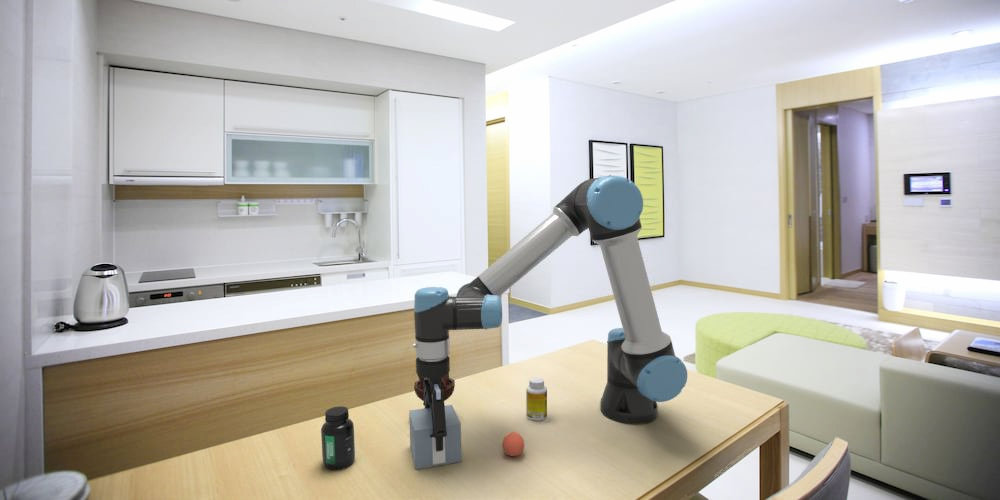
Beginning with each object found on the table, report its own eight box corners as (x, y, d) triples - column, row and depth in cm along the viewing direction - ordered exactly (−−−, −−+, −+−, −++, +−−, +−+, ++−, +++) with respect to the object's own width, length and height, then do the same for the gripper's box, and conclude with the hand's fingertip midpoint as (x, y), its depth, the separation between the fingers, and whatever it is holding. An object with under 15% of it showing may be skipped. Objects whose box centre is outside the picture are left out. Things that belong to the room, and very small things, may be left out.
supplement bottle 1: (332, 475, 99) (329, 421, 98) (317, 463, 104) (314, 411, 102) (361, 461, 104) (358, 410, 103) (345, 450, 109) (343, 401, 107)
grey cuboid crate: (452, 439, 113) (451, 404, 112) (461, 461, 104) (460, 423, 103) (410, 446, 110) (409, 410, 109) (415, 469, 101) (414, 430, 100)
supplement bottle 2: (548, 421, 122) (548, 383, 121) (527, 421, 122) (527, 384, 121) (545, 411, 128) (545, 375, 127) (525, 412, 128) (525, 376, 127)
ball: (520, 447, 109) (520, 427, 109) (527, 458, 105) (527, 437, 104) (499, 450, 108) (499, 430, 107) (506, 462, 103) (506, 440, 103)
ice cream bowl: (449, 428, 119) (448, 371, 117) (408, 425, 121) (406, 369, 119) (461, 410, 129) (460, 358, 128) (422, 407, 131) (421, 355, 130)
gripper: (410, 343, 114) (412, 429, 117) (422, 376, 93) (425, 481, 95) (440, 340, 117) (442, 425, 119) (459, 371, 95) (461, 474, 97)
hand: (435, 450), depth 107 cm, fingers closed on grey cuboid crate, 10 cm apart
